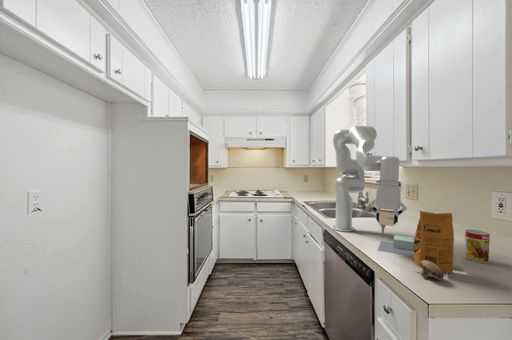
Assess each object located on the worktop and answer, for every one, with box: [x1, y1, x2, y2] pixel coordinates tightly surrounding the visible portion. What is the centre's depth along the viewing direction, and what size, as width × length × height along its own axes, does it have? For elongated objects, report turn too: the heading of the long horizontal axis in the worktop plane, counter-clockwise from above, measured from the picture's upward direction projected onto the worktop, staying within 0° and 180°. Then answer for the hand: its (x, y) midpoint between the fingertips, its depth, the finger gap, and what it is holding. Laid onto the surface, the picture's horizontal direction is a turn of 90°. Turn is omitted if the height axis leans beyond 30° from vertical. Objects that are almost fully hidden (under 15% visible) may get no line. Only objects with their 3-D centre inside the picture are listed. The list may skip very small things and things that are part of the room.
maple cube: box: [378, 208, 395, 227], centre depth 119 cm, size 6×6×6 cm
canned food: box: [464, 229, 491, 264], centre depth 111 cm, size 8×8×12 cm
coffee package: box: [412, 210, 455, 274], centre depth 101 cm, size 10×12×22 cm
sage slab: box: [393, 234, 415, 251], centre depth 123 cm, size 8×8×4 cm
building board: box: [377, 240, 413, 258], centre depth 121 cm, size 17×15×1 cm
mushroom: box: [419, 260, 444, 281], centre depth 92 cm, size 8×8×6 cm
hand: (386, 222), depth 119 cm, fingers closed on maple cube, 6 cm apart
